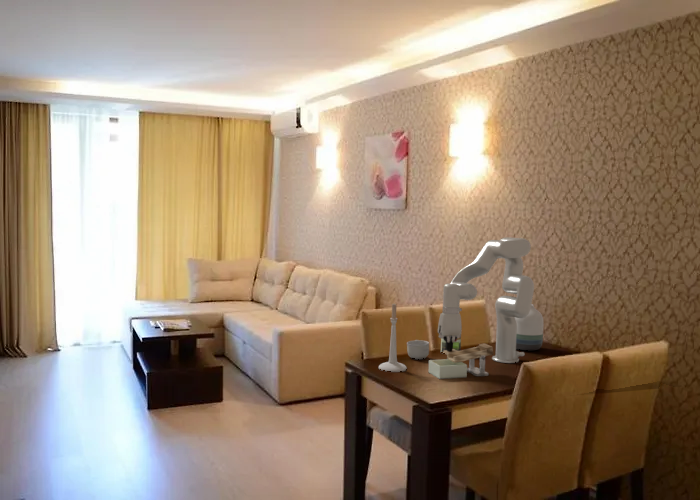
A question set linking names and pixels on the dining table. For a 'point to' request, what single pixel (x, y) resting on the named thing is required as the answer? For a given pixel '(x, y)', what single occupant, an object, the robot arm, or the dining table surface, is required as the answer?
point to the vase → (530, 331)
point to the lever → (469, 353)
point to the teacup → (418, 349)
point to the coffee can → (455, 345)
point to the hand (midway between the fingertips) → (449, 350)
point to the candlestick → (393, 348)
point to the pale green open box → (447, 369)
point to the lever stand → (477, 371)
